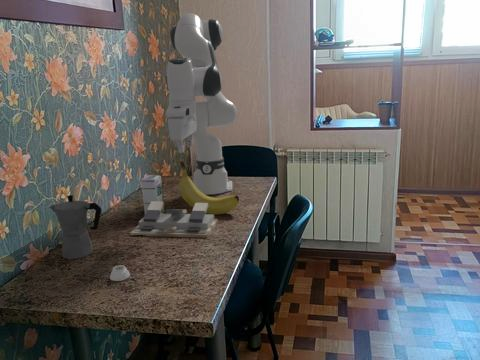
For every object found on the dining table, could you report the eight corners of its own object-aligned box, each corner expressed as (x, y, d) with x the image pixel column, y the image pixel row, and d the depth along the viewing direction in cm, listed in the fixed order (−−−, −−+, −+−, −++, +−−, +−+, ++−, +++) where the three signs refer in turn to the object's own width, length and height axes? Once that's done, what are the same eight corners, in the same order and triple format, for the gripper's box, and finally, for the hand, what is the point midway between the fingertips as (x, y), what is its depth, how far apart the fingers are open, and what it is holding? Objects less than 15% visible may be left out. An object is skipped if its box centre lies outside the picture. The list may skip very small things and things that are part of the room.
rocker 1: (152, 206, 154) (151, 201, 153) (164, 206, 153) (163, 201, 152) (144, 224, 147) (143, 218, 146) (157, 224, 146) (155, 219, 145)
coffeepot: (48, 259, 126) (39, 200, 122) (64, 246, 135) (56, 191, 131) (100, 259, 125) (92, 199, 120) (112, 246, 134) (105, 190, 129)
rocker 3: (196, 208, 151) (195, 202, 150) (208, 208, 151) (207, 202, 149) (190, 224, 144) (188, 218, 143) (202, 225, 143) (201, 219, 142)
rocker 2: (174, 216, 153) (174, 209, 153) (186, 216, 152) (186, 209, 152) (165, 217, 144) (165, 209, 144) (178, 217, 143) (178, 209, 143)
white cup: (131, 273, 116) (112, 274, 116) (130, 262, 115) (111, 264, 115) (128, 281, 111) (108, 283, 111) (127, 271, 110) (107, 272, 110)
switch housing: (149, 218, 155) (148, 213, 155) (214, 219, 151) (213, 214, 151) (139, 227, 147) (138, 221, 146) (207, 229, 143) (207, 223, 142)
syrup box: (159, 216, 160) (155, 178, 157) (144, 216, 161) (140, 178, 158) (164, 211, 166) (161, 174, 162) (150, 211, 167) (146, 174, 163)
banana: (241, 211, 162) (239, 159, 157) (238, 217, 156) (235, 162, 152) (184, 210, 167) (180, 159, 162) (178, 214, 161) (174, 162, 157)
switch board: (147, 220, 157) (147, 214, 156) (217, 221, 152) (217, 216, 152) (130, 235, 142) (129, 229, 142) (207, 237, 138) (207, 231, 137)
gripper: (182, 104, 154) (185, 143, 158) (163, 112, 135) (167, 156, 139) (199, 104, 153) (202, 143, 157) (183, 112, 134) (186, 156, 138)
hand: (185, 149), depth 148 cm, fingers open, 8 cm apart
